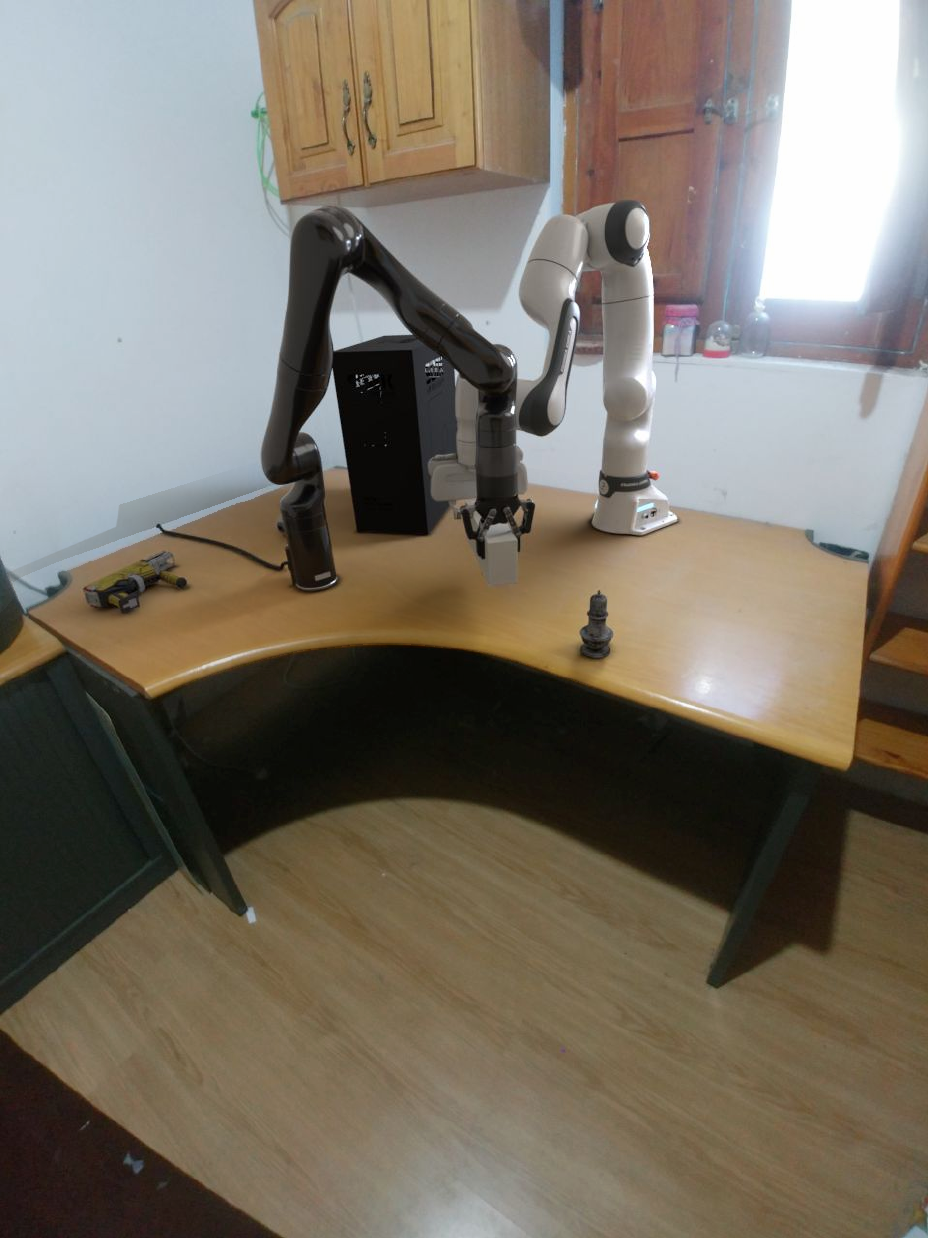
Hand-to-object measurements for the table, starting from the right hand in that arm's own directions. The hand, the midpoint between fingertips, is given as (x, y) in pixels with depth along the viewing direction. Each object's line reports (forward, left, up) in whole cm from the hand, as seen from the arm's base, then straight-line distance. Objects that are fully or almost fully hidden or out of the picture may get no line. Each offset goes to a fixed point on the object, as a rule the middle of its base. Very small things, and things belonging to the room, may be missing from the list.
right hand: (479, 516), depth 128 cm
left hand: (+4, +16, -2) cm, 17 cm away
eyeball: (+34, -51, -15) cm, 63 cm away
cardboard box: (-3, -51, -15) cm, 53 cm away
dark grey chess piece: (-5, +37, -15) cm, 40 cm away
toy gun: (+68, -33, -15) cm, 78 cm away
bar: (+2, +8, -6) cm, 11 cm away
